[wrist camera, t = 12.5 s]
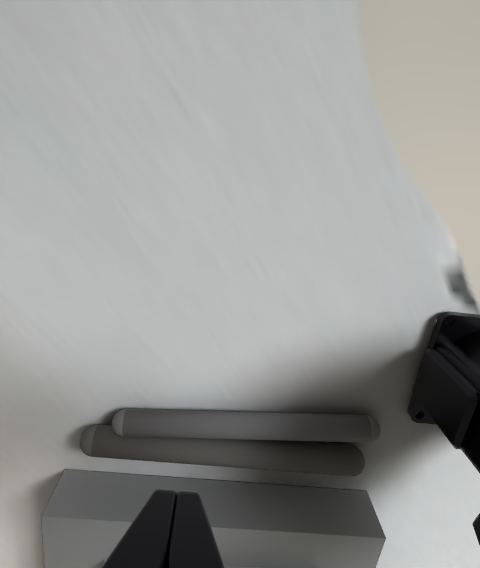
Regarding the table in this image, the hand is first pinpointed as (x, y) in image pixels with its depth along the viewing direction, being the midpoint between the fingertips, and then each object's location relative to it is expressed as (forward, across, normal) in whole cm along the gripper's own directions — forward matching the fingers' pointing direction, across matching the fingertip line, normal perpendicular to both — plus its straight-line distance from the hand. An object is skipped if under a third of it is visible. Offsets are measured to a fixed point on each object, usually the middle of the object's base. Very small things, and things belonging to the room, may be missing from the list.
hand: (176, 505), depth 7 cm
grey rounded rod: (+12, -2, +9) cm, 15 cm away
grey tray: (+12, -2, +18) cm, 22 cm away
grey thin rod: (+12, -3, +7) cm, 14 cm away
